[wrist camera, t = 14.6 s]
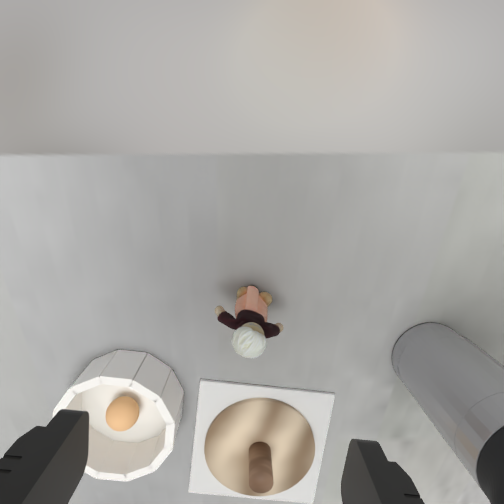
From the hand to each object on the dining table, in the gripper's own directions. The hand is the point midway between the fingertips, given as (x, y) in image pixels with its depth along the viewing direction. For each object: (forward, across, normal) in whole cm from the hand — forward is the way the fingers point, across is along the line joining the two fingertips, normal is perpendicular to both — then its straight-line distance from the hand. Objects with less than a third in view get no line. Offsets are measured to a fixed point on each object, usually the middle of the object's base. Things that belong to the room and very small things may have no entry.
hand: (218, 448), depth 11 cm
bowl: (+32, +12, +23) cm, 41 cm away
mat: (+32, -6, +28) cm, 43 cm away
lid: (+32, -6, +28) cm, 43 cm away
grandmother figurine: (+32, -2, +7) cm, 33 cm away
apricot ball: (+29, +12, +23) cm, 39 cm away
